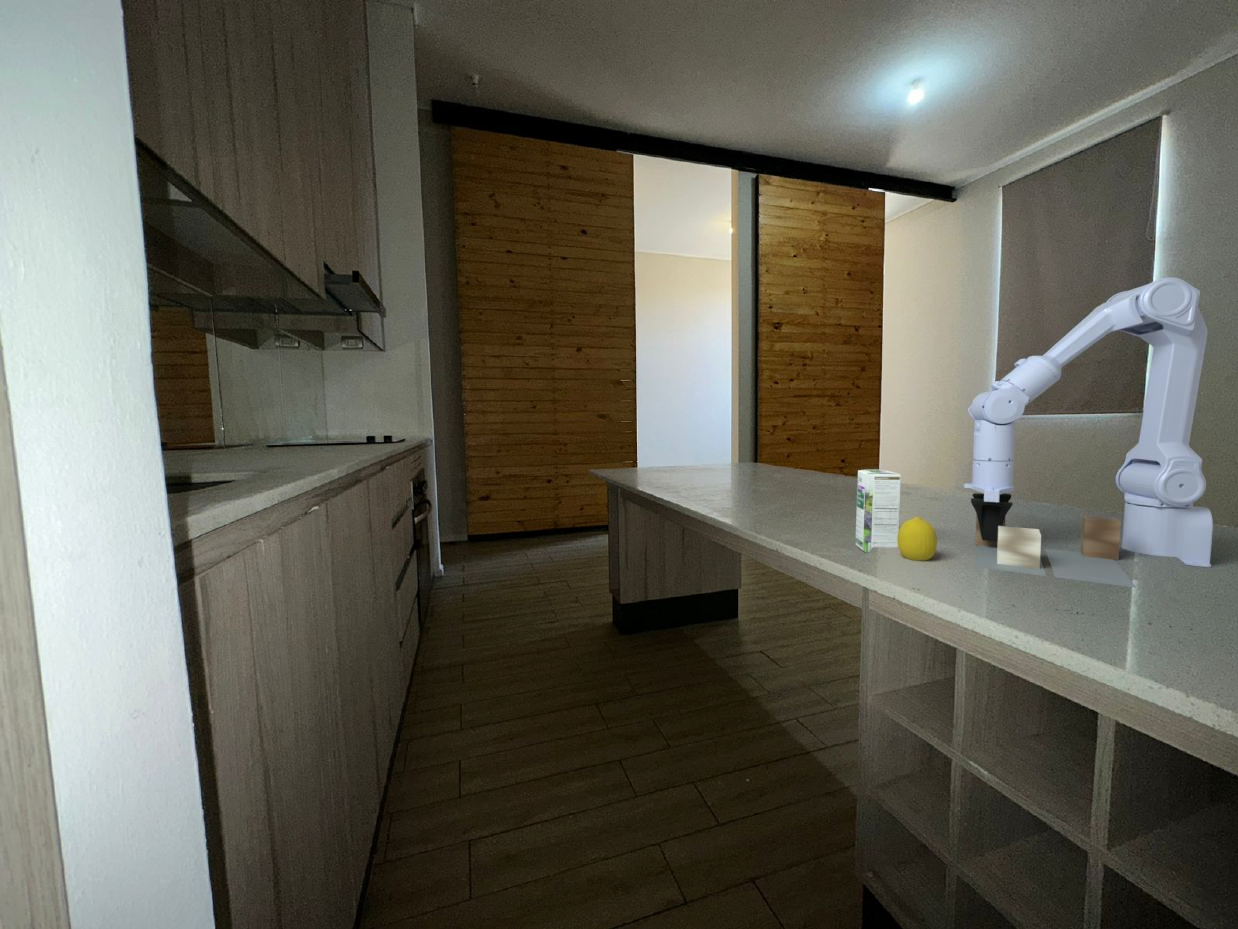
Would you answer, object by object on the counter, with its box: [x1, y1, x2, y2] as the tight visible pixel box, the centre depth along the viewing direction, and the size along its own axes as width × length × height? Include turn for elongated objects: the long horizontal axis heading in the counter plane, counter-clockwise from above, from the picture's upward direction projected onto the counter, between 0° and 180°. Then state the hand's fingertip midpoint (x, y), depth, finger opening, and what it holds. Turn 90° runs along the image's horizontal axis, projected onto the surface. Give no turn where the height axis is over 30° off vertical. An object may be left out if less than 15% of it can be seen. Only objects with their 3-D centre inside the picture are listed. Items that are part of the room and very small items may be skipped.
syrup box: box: [855, 468, 902, 553], centre depth 90 cm, size 6×6×14 cm
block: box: [997, 525, 1042, 569], centre depth 77 cm, size 5×5×5 cm
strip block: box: [974, 513, 1047, 577], centre depth 80 cm, size 8×18×7 cm, turn 143°
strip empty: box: [1044, 515, 1137, 588], centre depth 74 cm, size 8×18×7 cm, turn 143°
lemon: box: [897, 516, 938, 562], centre depth 80 cm, size 6×6×8 cm
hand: (989, 536), depth 87 cm, fingers open, 6 cm apart
